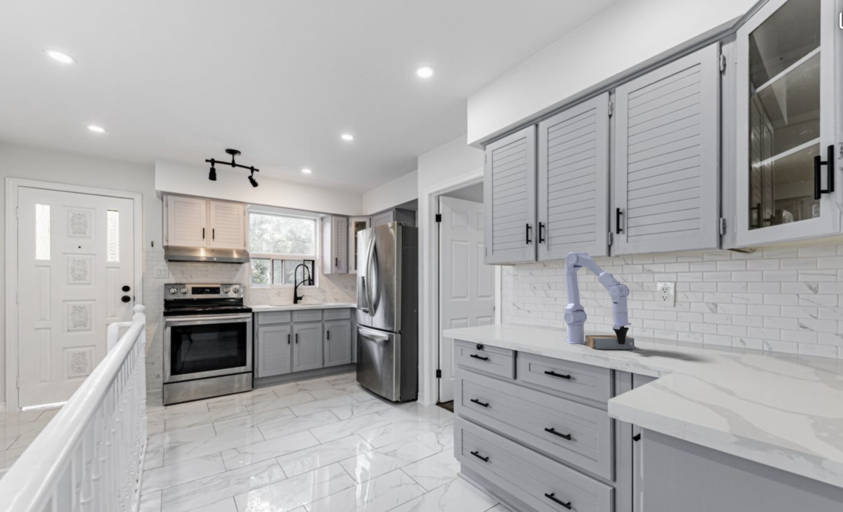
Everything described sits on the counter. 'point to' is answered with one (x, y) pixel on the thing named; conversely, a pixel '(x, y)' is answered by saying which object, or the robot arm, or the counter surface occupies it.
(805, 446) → the counter surface
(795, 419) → the counter surface
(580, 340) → the robot arm
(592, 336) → the cabinet
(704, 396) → the counter surface
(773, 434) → the counter surface
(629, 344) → the door
